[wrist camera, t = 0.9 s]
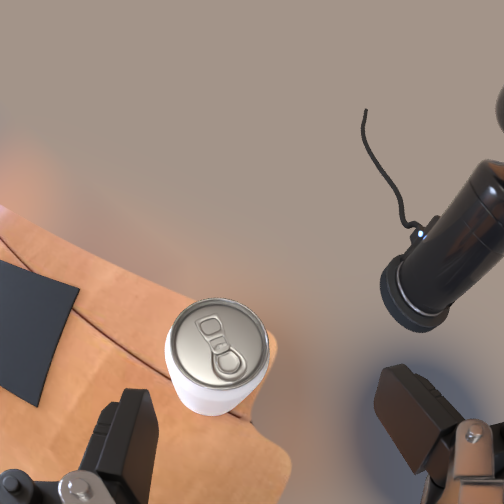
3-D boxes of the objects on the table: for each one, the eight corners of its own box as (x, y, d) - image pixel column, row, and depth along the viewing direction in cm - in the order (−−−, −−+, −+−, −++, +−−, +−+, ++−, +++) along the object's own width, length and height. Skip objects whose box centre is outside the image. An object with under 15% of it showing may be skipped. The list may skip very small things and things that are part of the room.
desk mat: (0, 260, 27) (-1, 259, 27) (80, 289, 28) (79, 288, 28) (-42, 354, 19) (-44, 353, 18) (37, 407, 19) (36, 406, 19)
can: (192, 427, 22) (190, 416, 13) (164, 365, 25) (146, 311, 16) (256, 399, 25) (297, 367, 16) (225, 341, 28) (244, 277, 19)
